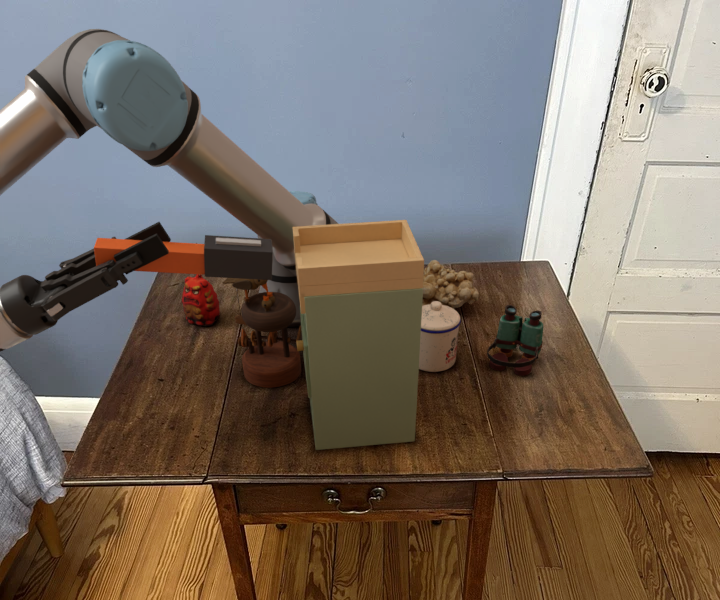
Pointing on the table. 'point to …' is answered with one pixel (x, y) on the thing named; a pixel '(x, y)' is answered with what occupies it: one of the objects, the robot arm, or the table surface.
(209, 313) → the red clay folk toy
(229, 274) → the bar
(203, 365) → the table surface
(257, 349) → the music box
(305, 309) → the drawer stand
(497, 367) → the binoculars
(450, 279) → the mineral formation
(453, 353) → the teacup with lid
